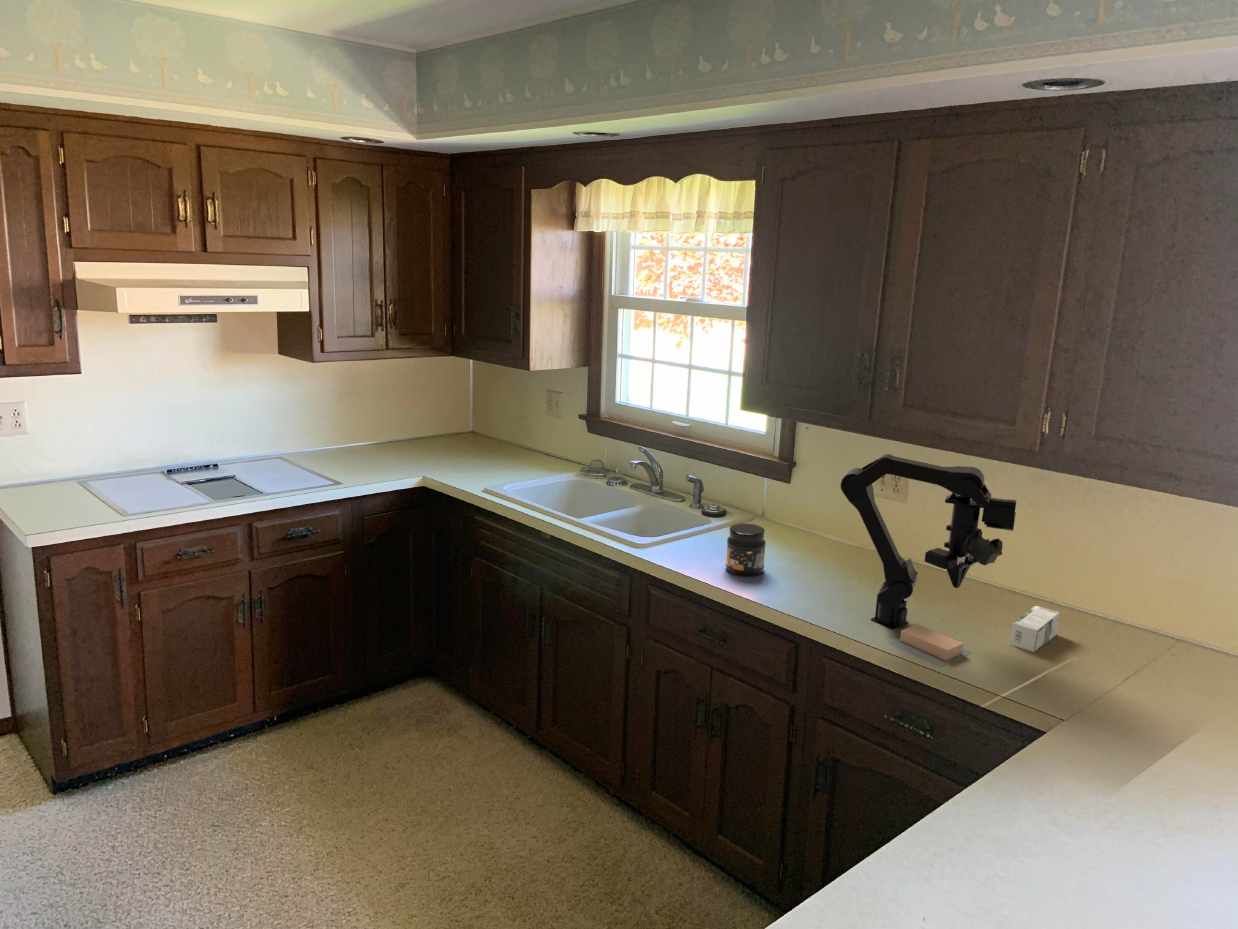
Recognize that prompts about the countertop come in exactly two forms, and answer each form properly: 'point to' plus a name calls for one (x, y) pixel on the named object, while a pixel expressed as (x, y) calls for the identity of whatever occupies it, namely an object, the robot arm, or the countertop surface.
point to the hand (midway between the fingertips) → (956, 587)
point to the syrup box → (1034, 628)
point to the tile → (931, 642)
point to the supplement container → (745, 549)
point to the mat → (927, 655)
